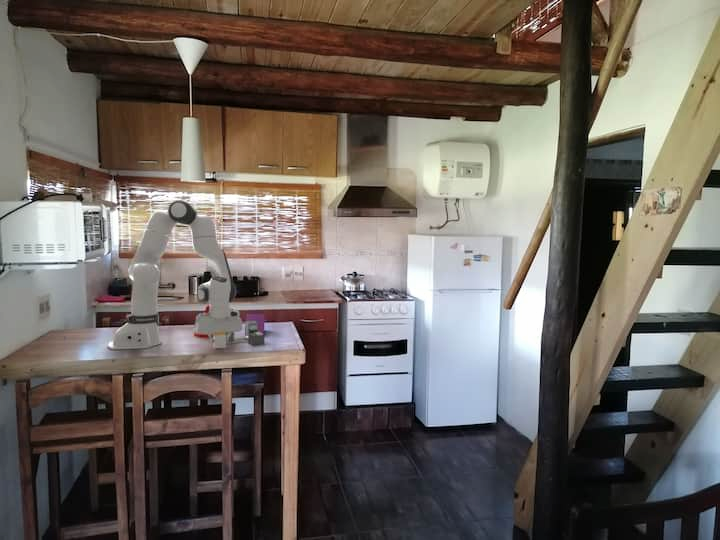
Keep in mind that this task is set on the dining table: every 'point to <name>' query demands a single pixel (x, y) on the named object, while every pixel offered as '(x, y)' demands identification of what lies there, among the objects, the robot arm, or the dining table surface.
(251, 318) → the mounting bracket
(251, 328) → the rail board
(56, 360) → the dining table surface
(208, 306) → the white and red dome
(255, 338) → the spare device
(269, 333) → the dining table surface
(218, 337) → the loose module
